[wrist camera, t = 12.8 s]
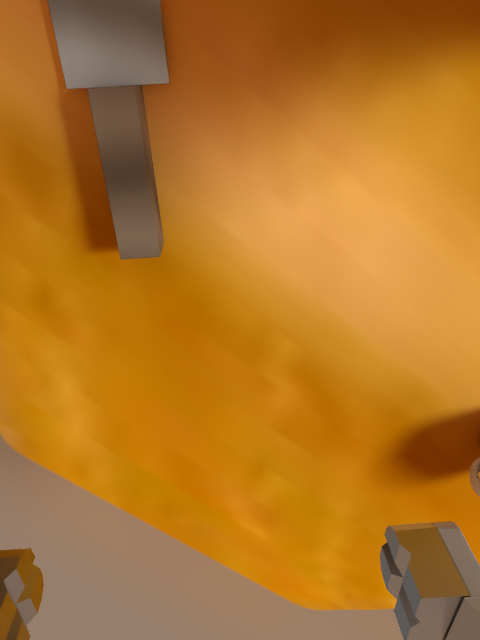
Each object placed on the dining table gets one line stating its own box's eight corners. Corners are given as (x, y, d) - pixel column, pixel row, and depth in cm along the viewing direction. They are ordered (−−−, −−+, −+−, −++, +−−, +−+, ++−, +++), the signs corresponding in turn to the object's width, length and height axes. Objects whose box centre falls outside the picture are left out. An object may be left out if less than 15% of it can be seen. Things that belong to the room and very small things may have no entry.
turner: (187, 239, 32) (185, 254, 29) (103, 245, 32) (94, 261, 29) (152, -68, 23) (146, -84, 21) (38, -62, 23) (16, -79, 21)
